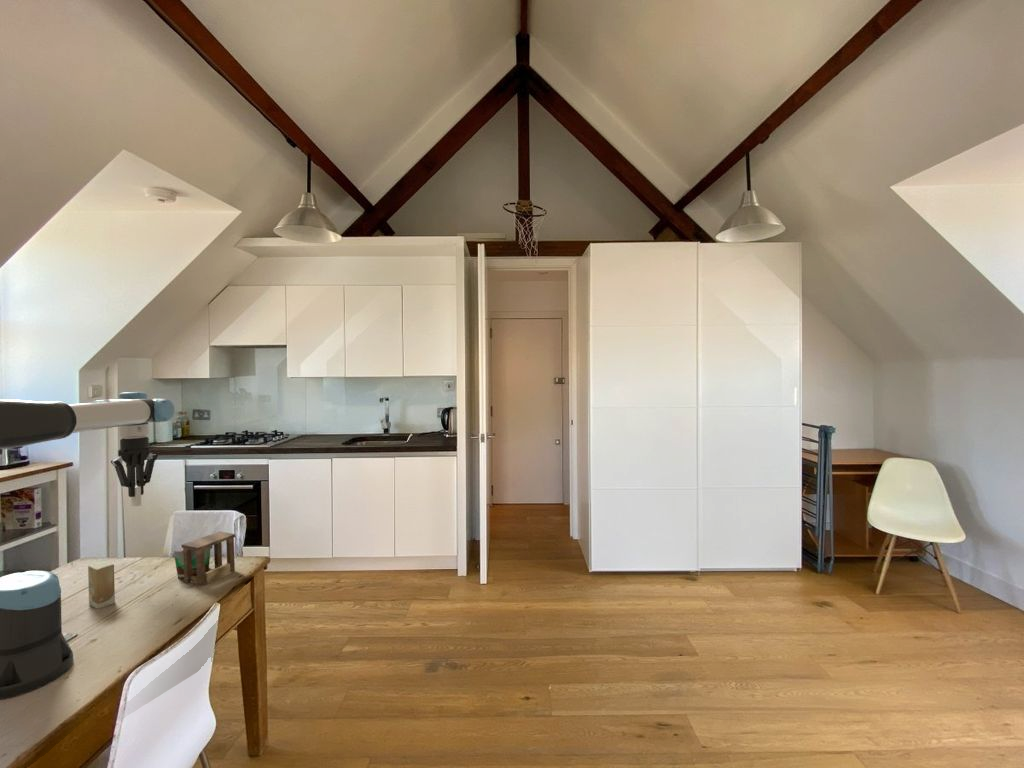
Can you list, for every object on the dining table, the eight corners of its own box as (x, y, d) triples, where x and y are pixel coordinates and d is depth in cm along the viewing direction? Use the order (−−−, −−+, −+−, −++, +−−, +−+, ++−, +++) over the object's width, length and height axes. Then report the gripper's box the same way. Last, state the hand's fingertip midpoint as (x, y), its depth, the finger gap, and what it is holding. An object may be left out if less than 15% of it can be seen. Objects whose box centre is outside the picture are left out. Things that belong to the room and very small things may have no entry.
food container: (184, 583, 149) (183, 554, 148) (173, 580, 151) (172, 551, 151) (221, 568, 160) (220, 541, 160) (210, 565, 162) (209, 538, 162)
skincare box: (88, 604, 136) (86, 565, 136) (106, 598, 140) (104, 559, 139) (97, 609, 133) (96, 569, 133) (116, 602, 137) (114, 563, 136)
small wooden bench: (200, 587, 146) (198, 548, 146) (182, 583, 149) (181, 544, 149) (237, 570, 158) (236, 534, 158) (220, 566, 161) (219, 531, 161)
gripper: (117, 440, 145) (120, 512, 146) (162, 435, 157) (164, 501, 158) (104, 439, 148) (107, 509, 149) (149, 434, 160) (151, 499, 161)
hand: (136, 505), depth 153 cm, fingers closed
